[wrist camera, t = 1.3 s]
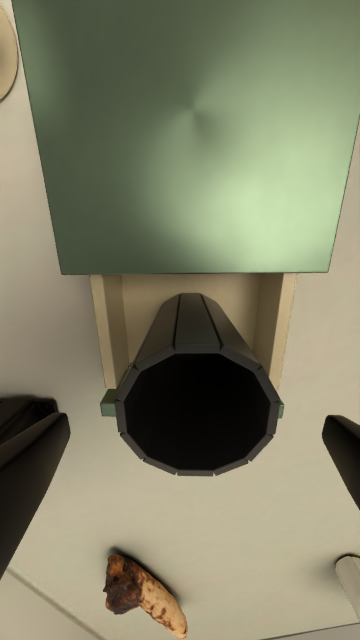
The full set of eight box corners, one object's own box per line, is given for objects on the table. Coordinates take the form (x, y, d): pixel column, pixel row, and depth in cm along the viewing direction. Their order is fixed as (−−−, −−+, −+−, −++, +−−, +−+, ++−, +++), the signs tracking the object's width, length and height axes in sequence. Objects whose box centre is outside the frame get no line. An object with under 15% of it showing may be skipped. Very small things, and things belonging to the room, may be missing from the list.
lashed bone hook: (82, 555, 30) (152, 616, 34) (62, 608, 25) (146, 671, 29) (131, 538, 28) (200, 605, 31) (119, 593, 23) (201, 662, 27)
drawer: (255, 416, 20) (274, 461, 16) (124, 415, 20) (108, 458, 16) (278, 231, 15) (317, 220, 10) (104, 233, 15) (71, 224, 11)
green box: (276, 267, 16) (328, 272, 10) (104, 268, 17) (60, 275, 11) (306, 35, 12) (419, -169, 6) (78, 45, 13) (-16, -141, 7)
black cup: (224, 360, 17) (268, 477, 8) (156, 360, 17) (123, 475, 8) (228, 292, 15) (290, 343, 6) (152, 292, 15) (106, 343, 6)
